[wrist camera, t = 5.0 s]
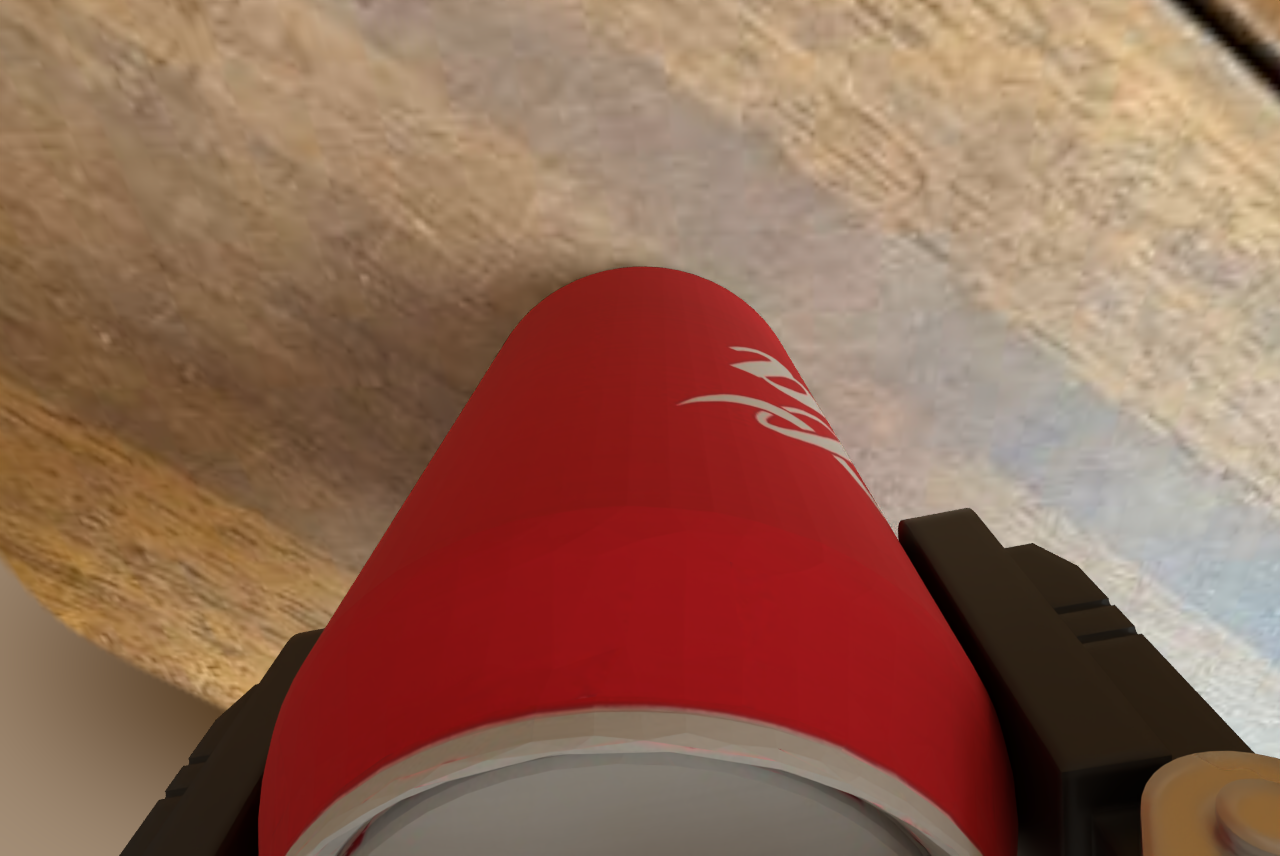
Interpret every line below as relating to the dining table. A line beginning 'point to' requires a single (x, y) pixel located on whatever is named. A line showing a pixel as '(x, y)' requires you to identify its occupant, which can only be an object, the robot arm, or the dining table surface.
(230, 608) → the dining table surface
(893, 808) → the beverage can
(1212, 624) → the dining table surface
